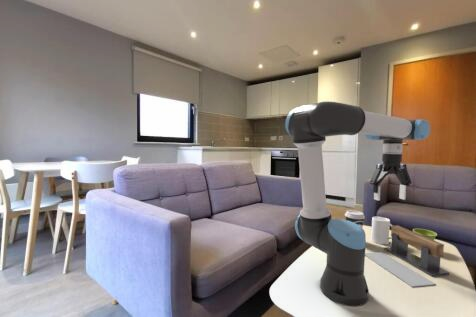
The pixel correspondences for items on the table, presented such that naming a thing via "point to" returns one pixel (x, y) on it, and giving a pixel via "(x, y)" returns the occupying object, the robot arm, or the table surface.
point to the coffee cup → (355, 217)
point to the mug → (380, 230)
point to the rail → (418, 241)
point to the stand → (416, 257)
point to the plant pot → (426, 233)
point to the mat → (399, 270)
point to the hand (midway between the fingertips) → (389, 199)
